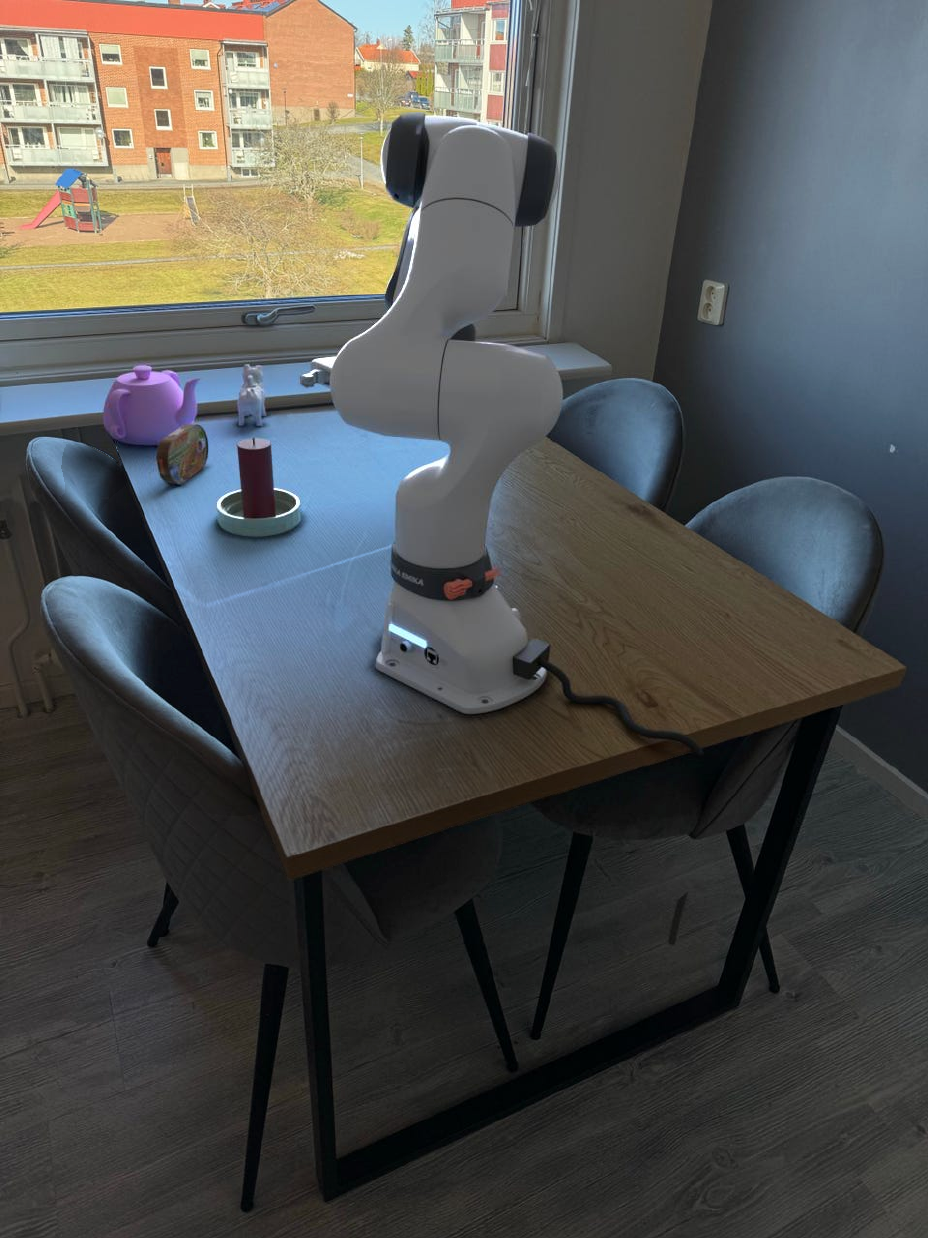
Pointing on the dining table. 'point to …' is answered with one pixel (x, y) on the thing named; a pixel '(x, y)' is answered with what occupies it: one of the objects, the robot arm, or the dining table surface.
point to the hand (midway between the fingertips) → (317, 388)
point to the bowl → (237, 524)
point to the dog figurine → (251, 395)
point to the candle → (256, 478)
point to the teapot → (148, 406)
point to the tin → (182, 454)
